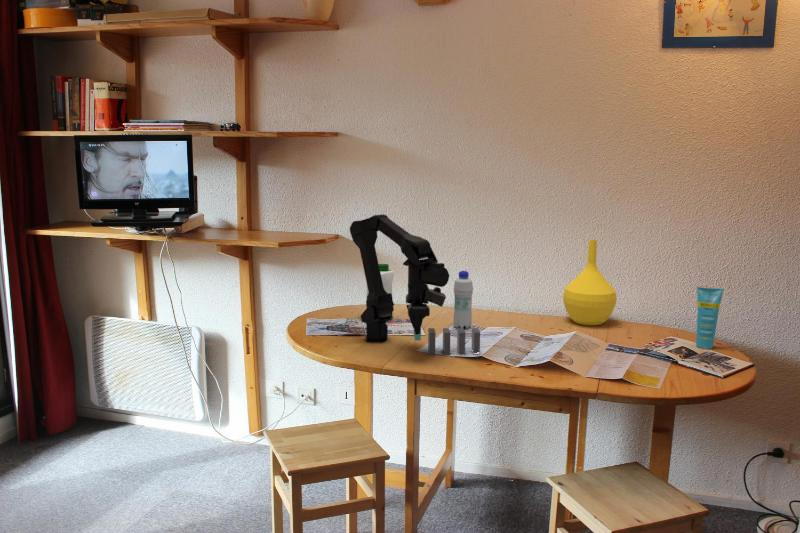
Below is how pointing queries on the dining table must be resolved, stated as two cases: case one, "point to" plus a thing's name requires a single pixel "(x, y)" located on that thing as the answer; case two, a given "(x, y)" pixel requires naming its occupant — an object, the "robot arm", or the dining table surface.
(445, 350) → the domino
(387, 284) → the milk carton
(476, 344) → the domino
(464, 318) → the bottle
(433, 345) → the domino
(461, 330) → the domino
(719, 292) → the tube
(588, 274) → the vase
